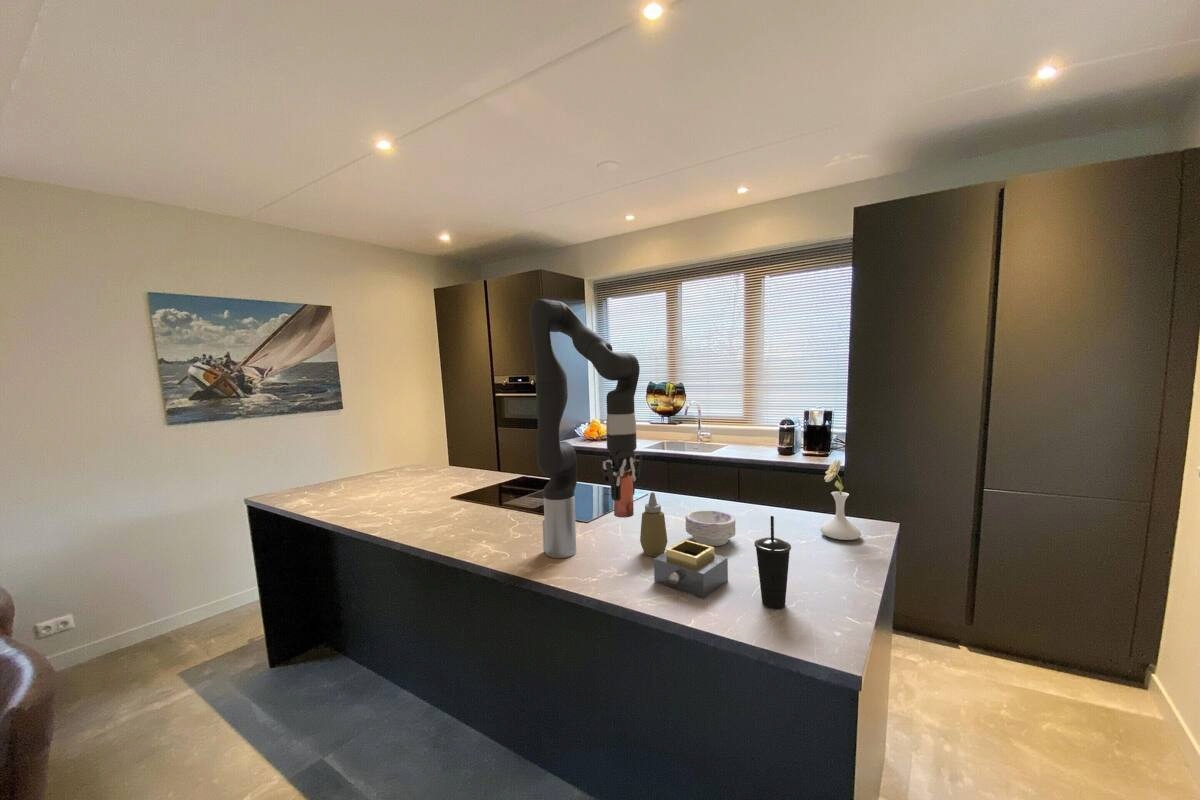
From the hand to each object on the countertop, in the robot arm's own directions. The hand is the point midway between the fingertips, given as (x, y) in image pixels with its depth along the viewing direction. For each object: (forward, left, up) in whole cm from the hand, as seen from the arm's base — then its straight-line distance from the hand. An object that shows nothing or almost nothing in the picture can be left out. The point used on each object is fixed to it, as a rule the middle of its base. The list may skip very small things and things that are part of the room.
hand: (623, 497), depth 113 cm
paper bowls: (+3, +38, -22) cm, 44 cm away
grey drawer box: (+13, +10, -21) cm, 27 cm away
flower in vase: (+33, +65, -22) cm, 76 cm away
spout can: (0, 0, -4) cm, 4 cm away
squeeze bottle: (-5, +19, -22) cm, 29 cm away
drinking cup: (+33, +12, -22) cm, 42 cm away
